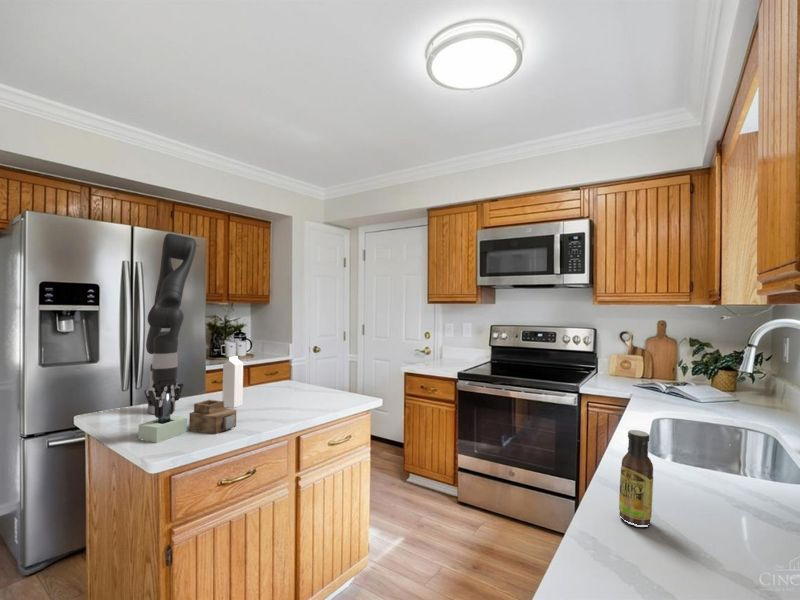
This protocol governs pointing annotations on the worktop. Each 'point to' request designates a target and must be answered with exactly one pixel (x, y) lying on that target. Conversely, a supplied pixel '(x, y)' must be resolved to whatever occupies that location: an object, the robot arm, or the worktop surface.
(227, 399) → the milk
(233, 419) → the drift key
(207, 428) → the socket block
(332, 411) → the worktop surface
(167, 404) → the grey peg
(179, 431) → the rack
